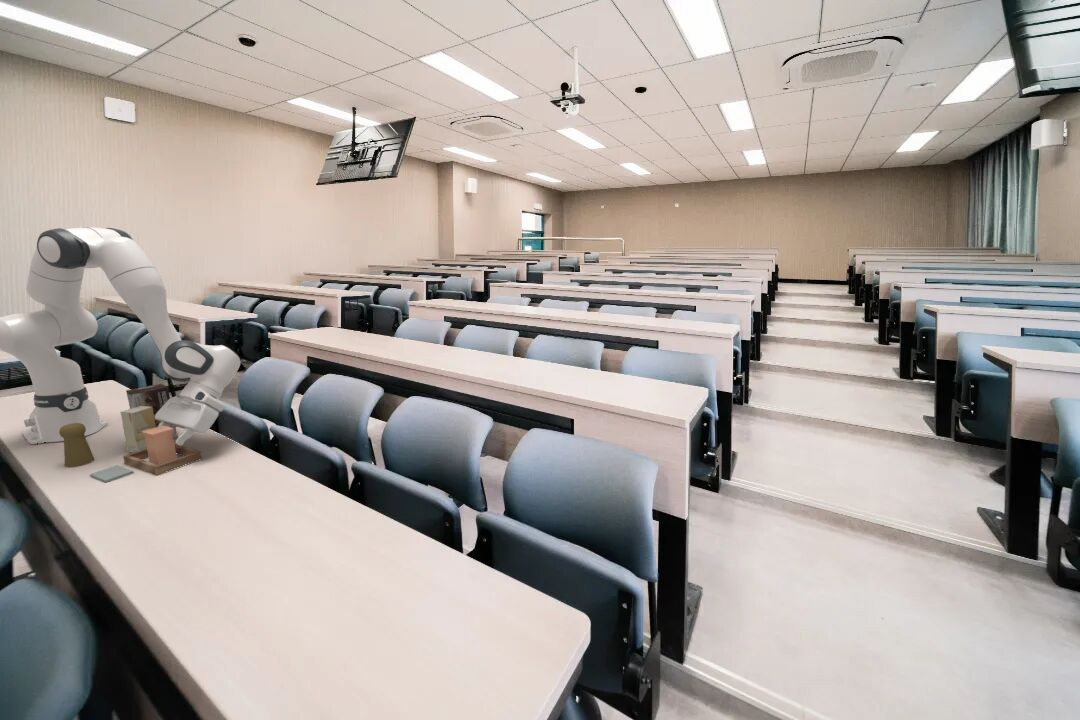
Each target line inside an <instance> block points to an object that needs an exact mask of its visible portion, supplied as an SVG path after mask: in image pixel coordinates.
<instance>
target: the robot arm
mask: <svg viewBox="0 0 1080 720" xmlns="http://www.w3.org/2000/svg"><path fill="white" fill-rule="evenodd" d="M96 268H100V269H101V270H102V271H103V272H104V274H105V275H106V277H107V279H108V281H109V282H110V284H111V286H112V287H113V288H114V290H115V292H116V293H117V294H118V295H119V296H120V298H121V299H122V300H123V302H124V303H126V305H127V306H128V307H129V309H130V310H132V312H133V313H134V315H136V316H137V318H138V319H139V320H140V322H141V323H142V324H143V325H144V327H145V329H146V331H147V332H148V334H149V336H150V337H151V339H152V342H153V343H154V344H155V346H156V348H157V349H158V351H159V354H160V355H159V356H160V368H161V371H162V373H163V374H164V375H165V376H166V377H167V378H168V379H170V380H172V381H175V382H183V383H184V382H187V383H186V385H185V386H184V388H183V389H182V390H181V392H180V393H179V394H177V395H175V396H173V397H170V399H169V400H168V401H167V402H166V403H165V404H164V405H163V406H162V407H161V408H160V410H159V411H158V412H157V413H156V415H155V419H156V420H158V421H160V424H159V426H162V425H163V426H167V427H170V425H172V426H176V428H180V429H183V432H182V433H181V434H180V435H179V436H176V437H174V438H175V439H173V440H174V444H176V445H180V446H182V445H184V443H185V442H186V441H187V440H188V439H189V438H191V437H192V436H193V435H194V434H195V433H199V434H204V433H207V431H208V430H210V428H211V427H212V426H213V424H214V423H215V421H216V420H217V419H218V417H219V413H221V412H223V411H224V409H225V408H226V405H225V404H224V403H223V402H222V401H221V400H220V398H221V396H222V394H223V390H224V389H225V388H226V387H227V386H228V385H229V384H230V383H231V382H232V380H233V379H234V377H235V376H236V374H237V372H238V370H239V368H240V366H241V359H240V356H239V355H238V354H237V353H236V352H235V351H234V350H233V349H231V348H230V347H227V346H226V345H223V344H220V345H208V344H202V343H198V342H194V341H193V340H188V339H184V340H183V339H182V338H181V337H180V335H179V333H178V331H177V329H176V328H175V327H174V324H173V323H172V321H171V319H170V315H169V312H168V305H167V289H166V287H165V284H164V281H163V279H162V277H161V275H160V273H159V271H158V269H157V268H156V266H155V264H154V263H153V262H152V260H151V258H150V257H149V256H148V255H147V253H145V251H144V250H143V249H142V248H141V246H140V245H139V244H138V243H137V242H136V241H135V240H134V239H133V238H132V237H131V235H130V234H129V233H128V232H126V231H124V230H122V229H118V228H112V227H105V228H104V227H95V226H83V227H73V228H71V227H70V228H59V227H58V228H52V229H48V230H45V231H43V232H41V233H40V234H39V236H38V238H37V242H36V248H35V250H34V252H33V254H32V258H31V261H30V266H29V271H28V277H27V278H28V279H27V284H26V292H27V294H28V295H29V297H30V298H31V299H32V300H34V301H35V302H37V303H39V304H42V305H44V306H43V308H42V309H41V310H38V311H37V310H35V311H28V312H18V313H12V314H9V315H8V314H7V315H4V316H1V317H0V351H1V352H5V353H6V354H10V355H11V356H13V357H14V358H16V359H17V360H19V361H20V362H21V363H22V365H24V367H25V368H26V370H27V372H28V374H29V378H30V379H31V382H32V383H31V384H32V387H33V390H34V395H33V405H34V406H35V407H34V408H33V410H32V411H31V413H30V414H29V415H28V417H29V418H27V419H24V420H23V424H24V426H25V428H26V429H25V430H22V433H21V434H22V436H23V435H24V436H23V437H24V438H25V440H26V439H27V440H26V441H27V443H28V444H29V443H30V444H29V445H37V443H38V444H44V442H46V443H56V442H64V438H63V437H61V436H60V434H59V430H60V428H61V427H62V426H64V425H68V424H72V423H81V424H83V425H84V426H85V428H86V431H85V433H84V435H85V437H86V436H89V435H92V434H95V433H96V432H99V431H100V429H102V428H103V427H106V426H107V425H108V424H107V423H108V422H107V421H105V420H104V421H103V420H101V418H100V417H101V416H100V414H99V411H98V407H97V404H96V402H95V401H92V400H90V399H89V391H88V389H87V387H86V386H85V385H84V384H85V383H84V379H83V376H82V370H81V366H80V365H79V364H78V362H76V361H74V360H72V359H70V358H66V357H62V356H60V355H59V354H58V352H57V350H56V348H55V347H59V346H65V345H71V344H76V343H80V342H83V341H86V340H87V339H90V338H93V337H95V335H96V334H97V332H98V327H99V324H98V320H97V318H96V317H95V316H94V314H93V313H92V312H91V311H89V310H87V309H85V308H84V307H83V305H82V302H81V298H80V296H81V289H82V284H83V279H84V273H85V269H96ZM159 426H158V427H159ZM27 428H28V429H27Z"/></svg>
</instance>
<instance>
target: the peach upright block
mask: <svg viewBox="0 0 1080 720" xmlns="http://www.w3.org/2000/svg"><path fill="white" fill-rule="evenodd" d="M172 433H174V428H171V427H167V426H163V425H162V426H159V427H155V428H152V429H149V430H145V431H142V436H145V441H146V446H147V451H148V456H149V457H148V462H150V463H153V464H156V465H160V464H163V463H166V462H169V461H171V460H174V459H177V458H178V457H177V454H176V451H175V445H174V444H175V443H174V440H175V439H174V437H173V434H172Z"/></svg>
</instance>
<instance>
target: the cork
mask: <svg viewBox="0 0 1080 720" xmlns="http://www.w3.org/2000/svg"><path fill="white" fill-rule="evenodd" d="M85 431H86V428H85V426H84V425H83V424H81V423H72V424H68V425H64V426H62V427H61V428H60V430H59V434H60V436H61V437H63V438H64V441H63V451H64V452H63V453H64V455H63V457H64V467H66V468H76V467H81V466H86V465H89V464H90V463H92V461H93V462H94V461H95V457H94V454H93V452H92V450H91V448H90V445H89V443H88V440H87V439H86V436H85V435H84V433H85Z"/></svg>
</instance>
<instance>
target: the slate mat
mask: <svg viewBox="0 0 1080 720" xmlns="http://www.w3.org/2000/svg"><path fill="white" fill-rule="evenodd" d="M132 473H133V474H134V473H135V471H134V470H133V469H129V468H126V467H124V466H122V465H118V464H117V465H114V466H110V467H107V468H105V469H102V470H98V471H95V472H92V473H89V477H91V478H93V479H96V480H99V481H101V482H103V483H110V482H111V481H115V480H117V479H121V478H123V477H126V476H127V477H128V476H129V475H132Z"/></svg>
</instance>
